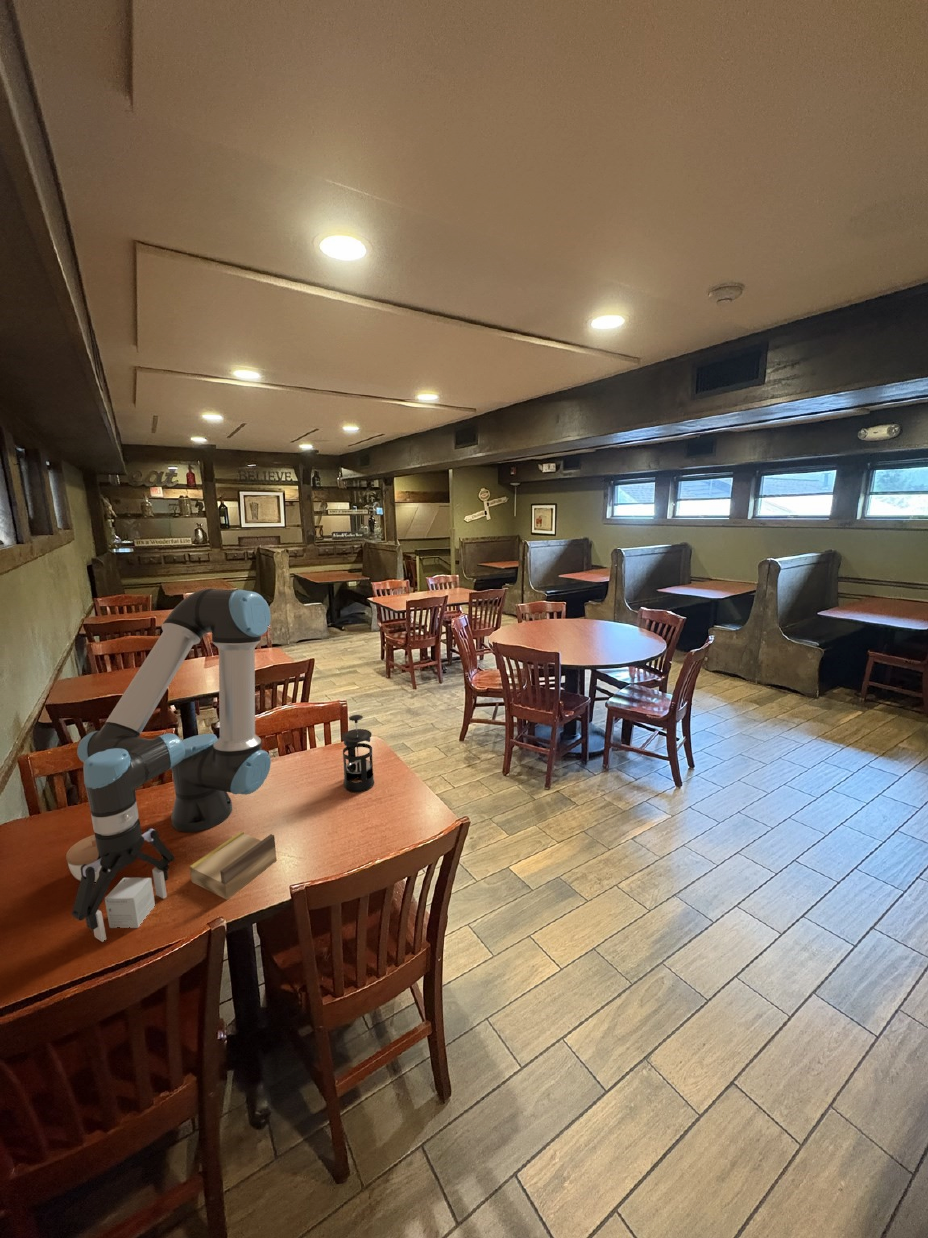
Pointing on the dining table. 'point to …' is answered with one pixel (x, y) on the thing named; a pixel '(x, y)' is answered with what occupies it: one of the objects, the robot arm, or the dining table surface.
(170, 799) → the dining table surface
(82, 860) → the lidded jar
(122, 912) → the product box
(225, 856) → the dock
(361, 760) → the french press
